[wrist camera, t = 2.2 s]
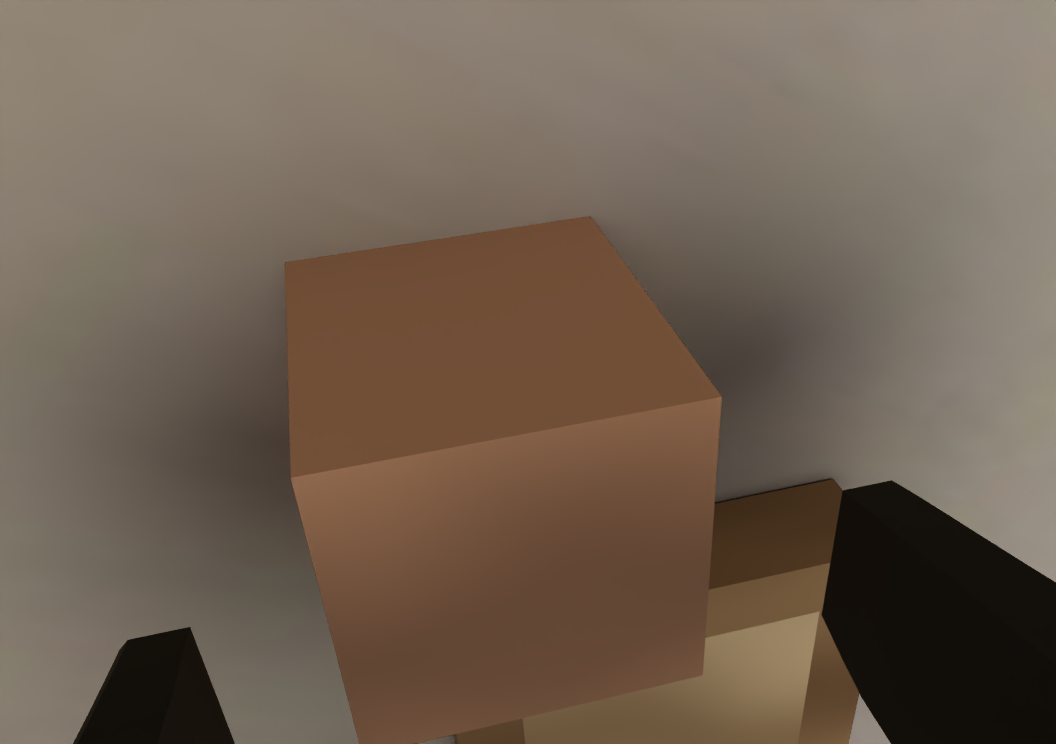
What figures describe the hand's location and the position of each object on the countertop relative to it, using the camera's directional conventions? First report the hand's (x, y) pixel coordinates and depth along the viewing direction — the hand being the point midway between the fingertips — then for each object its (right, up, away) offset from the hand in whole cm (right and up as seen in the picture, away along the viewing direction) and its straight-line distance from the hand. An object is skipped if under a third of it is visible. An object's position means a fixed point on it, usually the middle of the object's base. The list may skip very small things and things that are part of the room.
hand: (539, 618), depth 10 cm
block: (-1, +3, +4) cm, 6 cm away
